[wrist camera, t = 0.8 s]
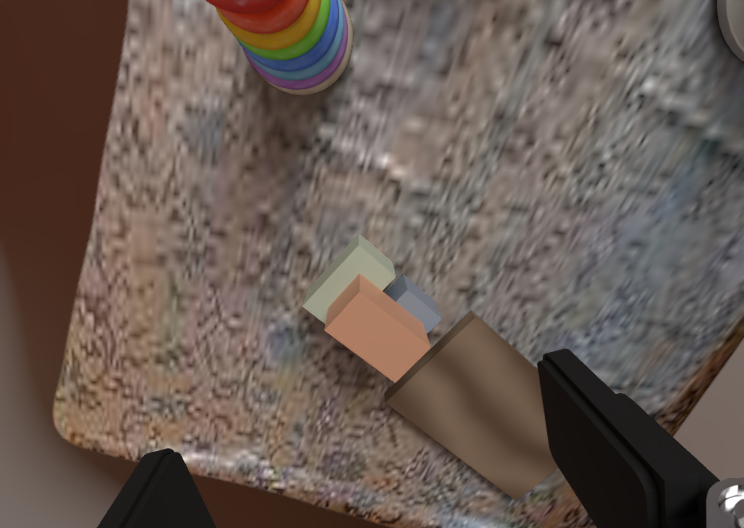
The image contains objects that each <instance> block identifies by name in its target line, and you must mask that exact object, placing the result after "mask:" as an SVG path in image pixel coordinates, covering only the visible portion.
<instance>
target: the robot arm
mask: <svg viewBox="0 0 744 528" xmlns="http://www.w3.org/2000/svg"><path fill="white" fill-rule="evenodd" d="M717 12H718V19H719V26H720V28H721V31H722V34H723V37H724V40H725V41H726V43H727V44H728V46H729V47H730V49H731V51H732V52H733V53H734V54H735V55H736V56H737V57H738V58H739V59H740V60H742V61H743V62H744V0H717ZM537 366H538V374H539V381H540V388H541V395H542V402H543V409H544V416H545V423H546V430H547V436H548V443H549V449H550V452H551V454H552V457H553V459H554V461H555V463H556V464H557V466H558V467H559V469H560V470H561V472H562V474H563V475H564V477H565V478H566V480H567V481H568V483H569V484H570V486H571V488H572V489H573V491H574V492H575V494H576V495H577V497H578V499H579V500H580V502H581V503H582V505H583V506H584V508H585V509H586V511H587V513H588V514H589V516H590V517H591V519H592V520H593V522H594V523H595V525H596V527H597V528H744V478H728V479H725V480H722V481H720V480H719V479H718V478H717V477H716V476H714V474H712V473H711V472H710V471H709V470H708V469H707V468H706V467H705V466H704V465H703V464H701V463H700V462H699V461H698V460H697V459H696V458H695V457H694V456H693V455H692V454H691V453H690V452H688V451H687V450H686V449H685V448H684V447H683V446H682V445H681V444H680V443H679V442H677V441H676V440H675V439H674V438H673V437H672V436H671V435H670V434H669V433H668V432H667V431H666V430H664V429H663V428H662V427H661V426H660V425H659V424H658V423H657V422H656V421H655V420H654V419H653V418H651V417H650V416H649V415H648V414H647V413H646V412H645V411H644V410H643V409H642V408H641V407H639V406H638V405H637V404H636V403H635V402H634V401H633V400H632V399H631V398H629V397H628V396H627V395H625V394H622V393H619V394H615V393H614V392H613V391H612V390H611V389H610V388H609V387H608V386H607V385H606V384H605V383H604V382H603V381H601V380H600V379H599V378H598V377H597V376H596V375H595V374H594V373H593V372H592V371H591V370H590V369H589V368H588V367H587V366H586V365H585V364H584V363H583V362H582V361H580V360H579V359H578V358H577V357H576V356H575V355H574V354H573V353H572V352H571V351H570V350H568V349H562V350H558V351H554V352H550V353H546V354H544V355H543V361H539V362H538V364H537ZM97 528H216V526H215V524H214V522H213V520H212V518H211V516H210V514H209V511H208V510H207V507H206V505H205V503H204V501H203V499H202V497H201V495H200V493H199V491H198V489H197V487H196V485H195V483H194V481H193V479H192V476H191V474H190V472H189V470H188V468H187V466H186V464H185V462H184V460H183V458H182V456H181V454H180V453H178V452H174V451H173V450H172V449H170V448H167V449H163V450H159V451H155V452H151V453H147V454H145V455H144V456H143V457H142V459H141V460H140V462H139V463H138V465H137V466H136V468H135V469H134V471H133V473H132V474H131V476H130V477H129V479H128V480H127V482H126V483H125V485H124V487H123V488H122V490H121V492H120V493H119V494H118V496H117V498H116V499H115V501H114V502H113V504H112V505H111V507H110V508H109V510H108V511H107V513H106V515H105V516H104V518H103V519H102V521H101V522H100V524H99V525H98V527H97Z"/></svg>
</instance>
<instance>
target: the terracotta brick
mask: <svg viewBox="0 0 744 528" xmlns="http://www.w3.org/2000/svg"><path fill="white" fill-rule="evenodd" d="M324 331H326V332H327V333H328V334H330V335H331V336H332V337H334V338H335V339H337V340H338V341H339V342H341V343H342V344H343V345H345V346H346V347H347V348H349V349H350V350H351V351H353V352H354V353H355V354H357V355H358V356H360V357H361V358H362V359H364V360H365V361H366V362H368V363H369V364H370V365H372V366H373V367H374V368H376V369H377V370H378V371H380V372H381V373H382V374H384V375H385V376H387V377H388V378H389V379H391V380H392V381H393V382H395V383H396V382H397V381H398V380H399V379H400V378H401V377H402V376H403V375H404V374H405V373H406V372H407V371H408V370H409V369H410V368H411V367H412V366H413V365H414V364H415V363H416V362H417V361H418V360H419V359H420V358H421V357H422V356H423V355H424V354H425V353H426V352H427V351H428V350H429V349H430V348H431V346H430V343H429V340H428V337H427V334H426V331H425V328H424V325H423V323H422V322H420V321H419V320H418V319H417V318H415V317H414V316H413V315H412V314H410V313H409V312H408V311H407V310H405V309H404V308H403V307H402V306H400V305H399V304H398V303H397V302H395V301H394V300H393V299H392V298H390V297H389V296H388V295H387V294H385V293H384V292H383V291H382V290H380V289H379V288H378V287H377V286H375V285H374V284H373V283H372V282H370V281H369V280H368V279H367V278H365V277H364V276H363V275H362V274H360V273H359V274H358V275H357V277H356V278H355V279H354V280H353V281H352V282H351V283H350V284H349V285H348V287H347V288H346V289H345V290H344V291H343V292H342V293H341V294H340V295H339V297H338V298H337V299H336V300H335V301H334V302H333V303H332V304H331V305H330V307H329V308H328V312H327V318H326V324H325V329H324Z"/></svg>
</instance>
